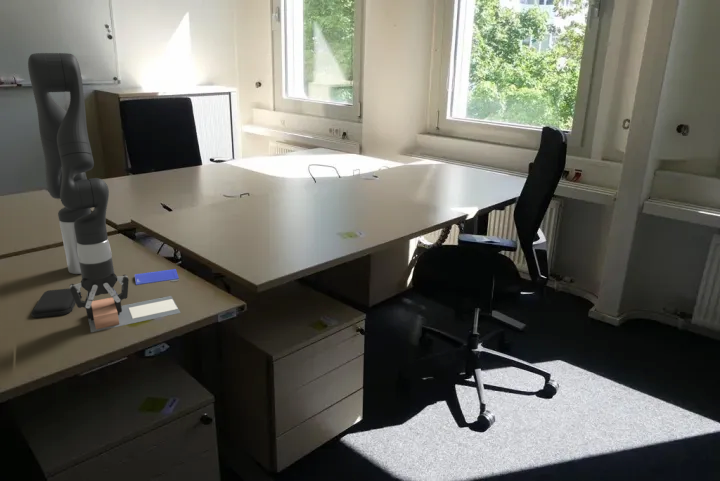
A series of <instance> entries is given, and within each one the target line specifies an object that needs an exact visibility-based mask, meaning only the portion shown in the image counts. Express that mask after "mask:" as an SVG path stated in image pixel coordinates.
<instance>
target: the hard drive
mask: <svg viewBox="0 0 720 481" xmlns="http://www.w3.org/2000/svg"><path fill="white" fill-rule="evenodd" d="M134 280H135V286H139V285H147V284H153V283H159V282H167V281H170V283H173V282H177V281H180V278H179V275H178V272H177V269H176V268H174V269H173V268H172V269H166V270H159V271H158V270H157V271H152V272H151V271H150V272H144V273H143V272H142V273H135V274H134Z"/></svg>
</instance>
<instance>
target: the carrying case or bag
mask: <svg viewBox="0 0 720 481" xmlns="http://www.w3.org/2000/svg"><path fill="white" fill-rule="evenodd" d="M78 294H79V296H80V298H81V299H82V298H83V294H82V292H81V291H80V292H79V293H78ZM75 306H76V302H75V300H74V298H73V295H72V293H71V291H70V287H69V288H60V289H52V290H46V291H44V292H43V294H42V295H41V296H40V298H39V300H38V301H37V303H36V305H35V306H34V307H33V310H32V311H31V313H30V314H31V316H32V318H34V319H35V318H37V319H41V318H47V317H49V318H50V317H57V316H58V317H59V316H64V315H68V314H70V313H71V312H73V310H74V307H75Z"/></svg>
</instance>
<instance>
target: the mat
mask: <svg viewBox="0 0 720 481" xmlns="http://www.w3.org/2000/svg"><path fill="white" fill-rule="evenodd" d="M121 308H122V312H120V315H118V318H119V325H114V326H109V327H105V328H100V329H96V327H95V323H94V320H92V321H91V319H88V318H87V319H88V324H89V329H90V333H96V332H100V331H105V330H109V329H113V328H118V327H122V326H127V325H130V324H131V325H132V324H135V323H136V324H137V323H140V322H145V321H150V320H155V319H159V318H163V317H167V316H169V317H170V316H173V315H178V314H181V313H182V312H181V311H180V309H179V307H178V305H177V303H176V301H175V299H174V298H173V296H172V295H168V296H164V297H160V298H159V297H158V298H153V299H148V300H143V301H138V302H134V303H130V304H124V305H121Z"/></svg>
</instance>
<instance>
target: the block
mask: <svg viewBox="0 0 720 481" xmlns="http://www.w3.org/2000/svg"><path fill="white" fill-rule="evenodd" d="M91 306H92V310H93V317H94V323H95V327H96V329H100V328H105V327H109V326H114V325H119V318H118V312H117V309H116V306H115V303H114V299H113V297H112V296H111V297H107V298H106V297H105V298H101V299H96V300H93V301H92V304H91Z"/></svg>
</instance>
